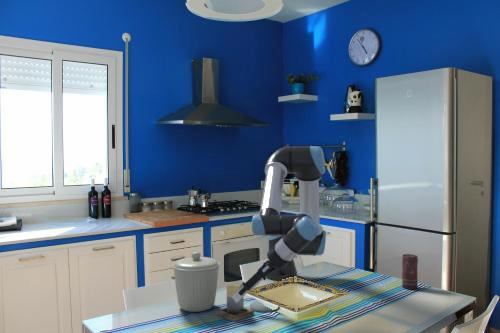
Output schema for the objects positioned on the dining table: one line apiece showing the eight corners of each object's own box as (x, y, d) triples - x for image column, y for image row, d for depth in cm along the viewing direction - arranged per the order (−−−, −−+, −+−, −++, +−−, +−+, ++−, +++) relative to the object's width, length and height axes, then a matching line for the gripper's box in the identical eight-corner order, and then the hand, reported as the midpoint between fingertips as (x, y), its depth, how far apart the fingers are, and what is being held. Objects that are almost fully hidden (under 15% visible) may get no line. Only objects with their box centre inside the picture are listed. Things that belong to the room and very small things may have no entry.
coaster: (243, 307, 165) (243, 305, 165) (263, 300, 173) (263, 299, 173) (264, 314, 157) (264, 312, 157) (285, 307, 165) (285, 305, 165)
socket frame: (216, 314, 157) (216, 310, 157) (236, 308, 164) (236, 304, 164) (234, 321, 151) (234, 317, 151) (253, 314, 157) (253, 310, 157)
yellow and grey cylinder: (226, 316, 156) (226, 285, 156) (231, 311, 160) (231, 281, 160) (238, 317, 154) (238, 286, 154) (243, 313, 159) (243, 283, 158)
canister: (213, 317, 155) (212, 258, 154) (164, 314, 158) (164, 256, 158) (226, 301, 172) (225, 247, 172) (182, 298, 176) (181, 246, 176)
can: (420, 290, 185) (420, 256, 185) (405, 290, 185) (404, 256, 185) (415, 285, 191) (414, 253, 191) (400, 285, 191) (400, 253, 191)
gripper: (279, 270, 137) (235, 313, 143) (298, 254, 161) (259, 292, 166) (263, 252, 139) (220, 295, 144) (284, 239, 163) (246, 277, 168)
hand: (241, 293), depth 155 cm, fingers open, 13 cm apart
